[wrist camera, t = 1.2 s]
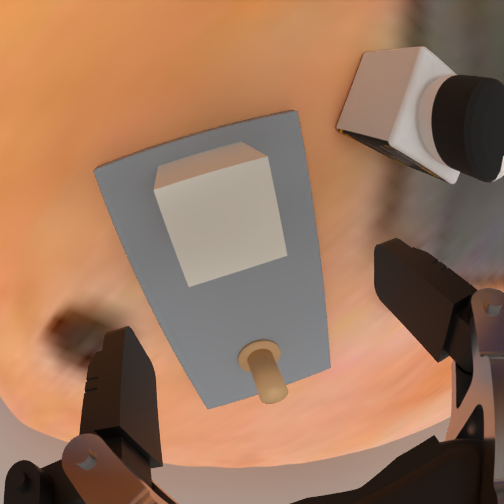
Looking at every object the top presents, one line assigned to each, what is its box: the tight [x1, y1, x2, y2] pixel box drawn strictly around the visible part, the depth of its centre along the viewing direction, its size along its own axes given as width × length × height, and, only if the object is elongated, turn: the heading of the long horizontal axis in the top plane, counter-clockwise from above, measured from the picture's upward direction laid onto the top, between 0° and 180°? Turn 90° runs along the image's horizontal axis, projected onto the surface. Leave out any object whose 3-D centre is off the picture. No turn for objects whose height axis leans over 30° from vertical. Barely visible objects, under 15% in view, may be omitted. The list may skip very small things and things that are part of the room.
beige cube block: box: [154, 141, 287, 287], centre depth 18 cm, size 6×6×6 cm
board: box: [93, 110, 331, 409], centre depth 24 cm, size 14×26×6 cm, turn 13°
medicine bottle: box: [336, 46, 504, 184], centre depth 17 cm, size 7×7×12 cm
